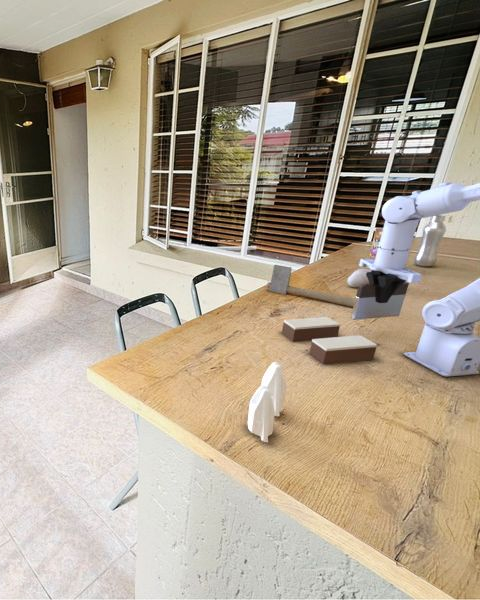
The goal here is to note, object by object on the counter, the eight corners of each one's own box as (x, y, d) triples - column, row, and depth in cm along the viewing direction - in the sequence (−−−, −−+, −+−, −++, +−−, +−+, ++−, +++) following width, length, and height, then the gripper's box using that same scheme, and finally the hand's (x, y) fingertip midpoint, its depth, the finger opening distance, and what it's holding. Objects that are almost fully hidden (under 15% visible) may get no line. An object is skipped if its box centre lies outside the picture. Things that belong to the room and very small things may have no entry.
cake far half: (337, 337, 91) (340, 324, 90) (292, 341, 91) (295, 327, 89) (324, 329, 96) (327, 316, 94) (281, 333, 95) (283, 319, 94)
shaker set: (262, 399, 70) (270, 350, 66) (285, 407, 67) (295, 357, 63) (242, 432, 62) (249, 380, 58) (267, 443, 59) (277, 389, 55)
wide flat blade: (399, 316, 89) (409, 283, 86) (354, 320, 88) (362, 286, 85) (394, 314, 90) (404, 281, 87) (350, 318, 90) (358, 285, 86)
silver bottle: (418, 267, 139) (434, 217, 132) (409, 263, 145) (423, 214, 138) (438, 268, 138) (455, 217, 130) (428, 263, 144) (444, 214, 136)
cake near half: (373, 359, 81) (377, 344, 79) (323, 364, 80) (326, 348, 79) (356, 349, 85) (360, 335, 84) (309, 353, 85) (312, 339, 83)
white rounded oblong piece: (375, 279, 129) (351, 294, 124) (361, 267, 131) (338, 281, 126) (389, 270, 124) (366, 285, 118) (376, 257, 126) (352, 271, 121)
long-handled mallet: (368, 312, 104) (265, 290, 126) (370, 310, 106) (267, 288, 127) (377, 282, 101) (269, 264, 122) (379, 281, 102) (271, 263, 123)
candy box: (366, 263, 148) (375, 227, 143) (378, 264, 147) (388, 227, 141) (374, 269, 140) (384, 231, 135) (387, 269, 139) (398, 231, 134)
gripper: (353, 243, 89) (341, 292, 94) (406, 256, 76) (389, 313, 81) (379, 241, 90) (366, 290, 95) (437, 254, 76) (418, 311, 81)
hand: (379, 301), depth 88 cm, fingers closed on wide flat blade, 1 cm apart
